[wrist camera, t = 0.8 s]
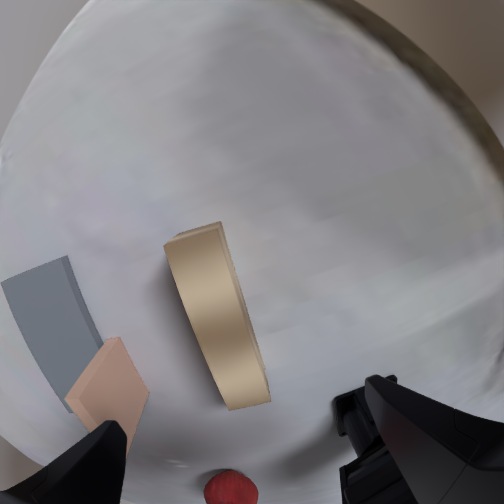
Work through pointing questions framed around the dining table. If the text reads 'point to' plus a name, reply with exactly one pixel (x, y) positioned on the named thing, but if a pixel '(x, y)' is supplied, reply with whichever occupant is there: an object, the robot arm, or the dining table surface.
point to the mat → (54, 322)
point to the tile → (109, 390)
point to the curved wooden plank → (219, 314)
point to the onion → (230, 489)
